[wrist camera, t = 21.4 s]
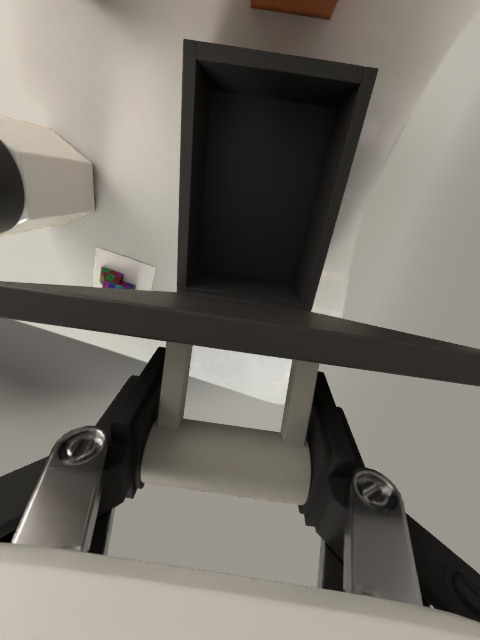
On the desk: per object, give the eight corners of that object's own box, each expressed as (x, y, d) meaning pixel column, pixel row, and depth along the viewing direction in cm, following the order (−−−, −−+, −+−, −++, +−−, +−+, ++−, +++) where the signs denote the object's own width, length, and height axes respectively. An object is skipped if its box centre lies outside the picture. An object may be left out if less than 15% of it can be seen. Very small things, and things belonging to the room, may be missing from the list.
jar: (69, 116, 25) (-73, 60, 14) (114, 205, 28) (26, 214, 18) (-4, 153, 27) (-179, 129, 16) (47, 233, 30) (-71, 257, 19)
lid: (-27, 279, 6) (-41, 514, 7) (526, 359, 6) (470, 584, 7) (175, 292, 25) (168, 353, 25) (311, 311, 25) (301, 372, 25)
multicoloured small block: (155, 267, 31) (148, 273, 29) (144, 324, 35) (136, 333, 32) (96, 246, 30) (83, 251, 28) (90, 306, 34) (78, 315, 32)
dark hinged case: (202, 78, 23) (183, 38, 17) (346, 100, 23) (379, 68, 17) (192, 273, 31) (176, 294, 25) (299, 289, 31) (310, 314, 25)
